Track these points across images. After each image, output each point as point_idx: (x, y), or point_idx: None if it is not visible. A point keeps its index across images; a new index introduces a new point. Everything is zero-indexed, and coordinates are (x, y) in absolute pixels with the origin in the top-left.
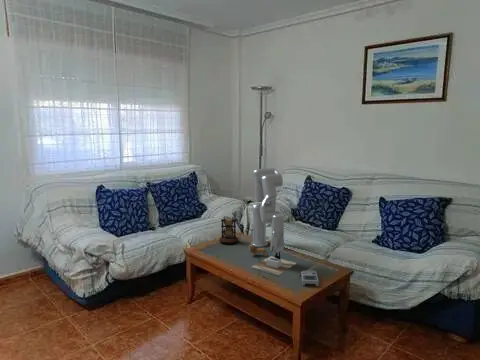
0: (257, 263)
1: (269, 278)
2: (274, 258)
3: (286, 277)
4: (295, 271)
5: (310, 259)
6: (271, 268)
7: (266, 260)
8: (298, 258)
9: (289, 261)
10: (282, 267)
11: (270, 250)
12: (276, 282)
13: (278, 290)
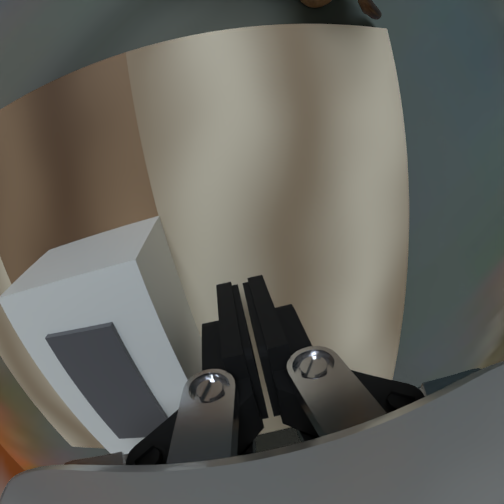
0: (2, 111)
1: (7, 397)
2: (155, 372)
3: None
4: (257, 444)
5: (500, 339)
6: None
7: (10, 290)
8: (500, 280)
9: (390, 341)
10: None
11: (3, 501)
12: (33, 442)
13: (20, 465)
